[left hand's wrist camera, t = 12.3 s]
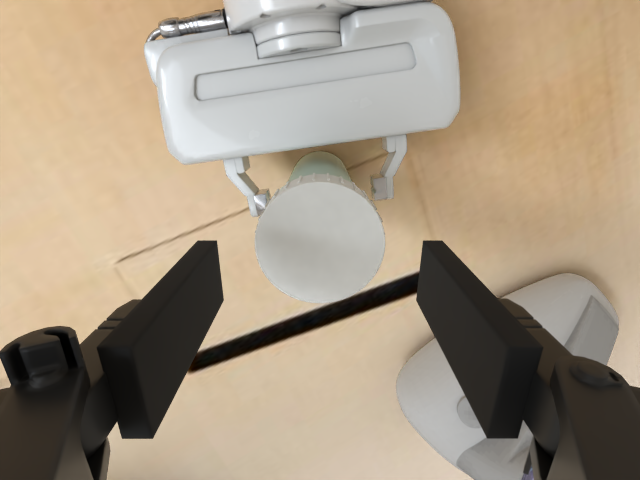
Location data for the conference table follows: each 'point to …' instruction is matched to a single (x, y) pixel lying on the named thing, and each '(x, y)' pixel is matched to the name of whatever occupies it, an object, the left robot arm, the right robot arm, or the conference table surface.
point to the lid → (320, 239)
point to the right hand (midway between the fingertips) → (322, 206)
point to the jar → (320, 166)
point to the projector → (451, 403)
